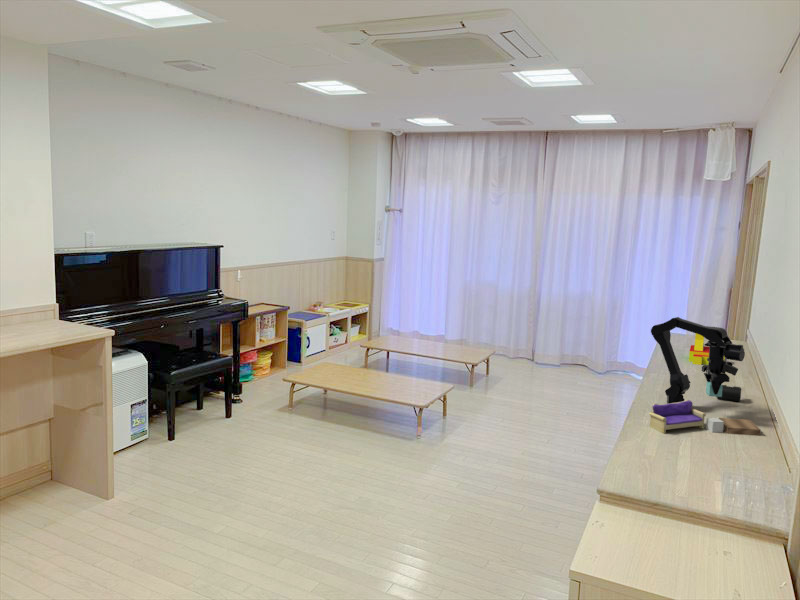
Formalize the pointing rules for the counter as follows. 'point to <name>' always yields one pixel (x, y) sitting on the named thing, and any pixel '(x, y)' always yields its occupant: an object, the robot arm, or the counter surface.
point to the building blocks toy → (699, 351)
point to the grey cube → (714, 425)
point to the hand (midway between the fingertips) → (713, 392)
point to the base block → (740, 427)
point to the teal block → (710, 390)
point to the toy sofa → (675, 416)
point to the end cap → (731, 393)
